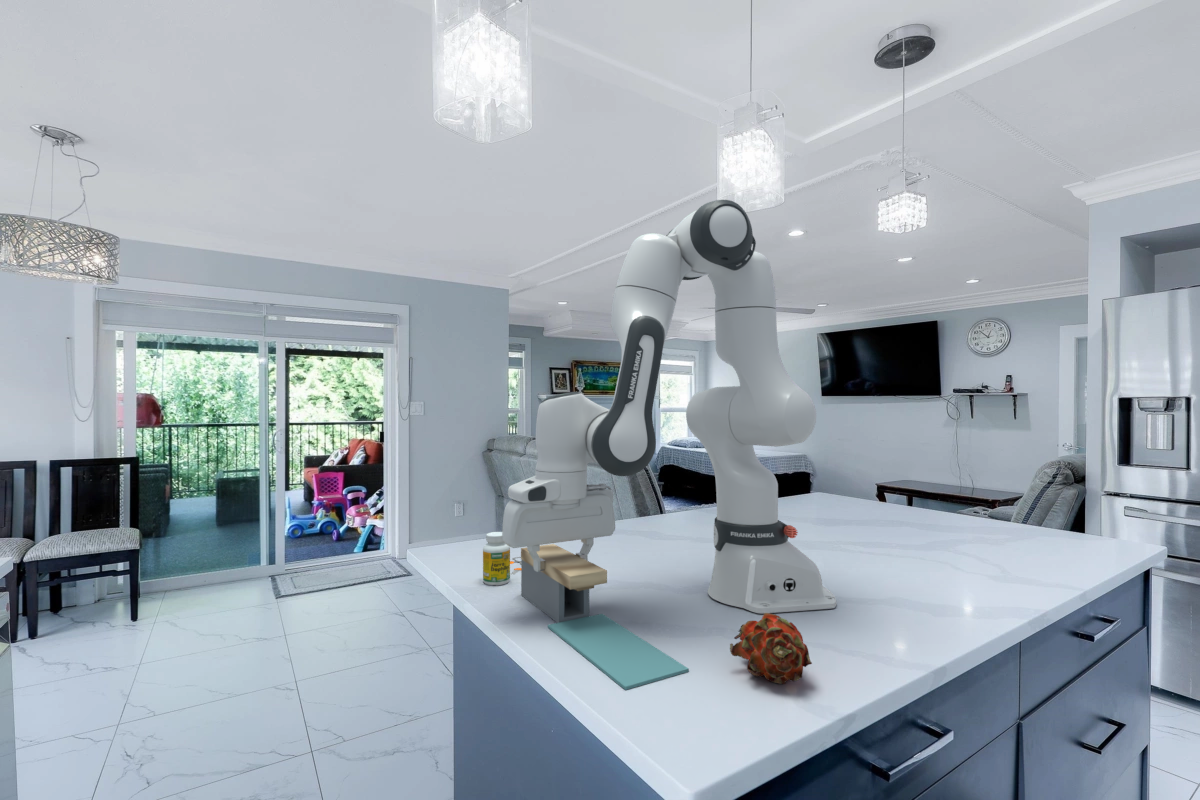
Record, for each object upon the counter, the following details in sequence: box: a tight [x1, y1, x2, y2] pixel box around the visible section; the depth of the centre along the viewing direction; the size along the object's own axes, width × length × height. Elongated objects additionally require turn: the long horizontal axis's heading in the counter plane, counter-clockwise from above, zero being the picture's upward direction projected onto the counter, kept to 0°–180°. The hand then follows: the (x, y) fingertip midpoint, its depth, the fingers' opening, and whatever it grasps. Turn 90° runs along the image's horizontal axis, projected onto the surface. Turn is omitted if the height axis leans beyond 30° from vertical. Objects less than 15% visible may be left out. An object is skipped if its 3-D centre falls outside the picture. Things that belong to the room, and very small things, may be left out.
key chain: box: [510, 556, 521, 575], centre depth 127 cm, size 13×7×1 cm, turn 20°
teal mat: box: [547, 613, 690, 691], centre depth 84 cm, size 23×10×1 cm, turn 30°
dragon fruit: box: [729, 613, 813, 685], centre depth 76 cm, size 8×8×12 cm
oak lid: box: [520, 543, 608, 591], centre depth 99 cm, size 20×7×3 cm, turn 30°
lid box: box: [520, 558, 590, 623], centre depth 101 cm, size 16×6×7 cm, turn 30°
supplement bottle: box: [482, 531, 511, 586], centre depth 115 cm, size 5×5×10 cm
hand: (560, 567), depth 99 cm, fingers closed on oak lid, 7 cm apart
